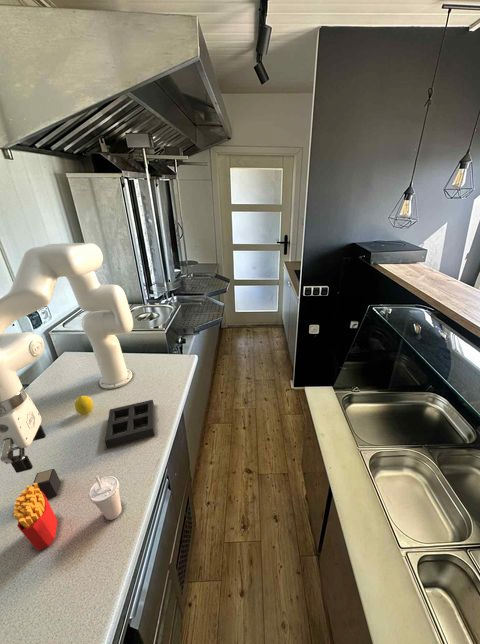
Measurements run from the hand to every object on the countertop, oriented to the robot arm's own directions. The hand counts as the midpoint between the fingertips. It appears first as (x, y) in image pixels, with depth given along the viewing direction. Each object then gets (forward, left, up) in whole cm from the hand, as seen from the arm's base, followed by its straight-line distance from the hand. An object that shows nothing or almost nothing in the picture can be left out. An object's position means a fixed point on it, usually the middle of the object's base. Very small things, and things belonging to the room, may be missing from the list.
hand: (32, 453), depth 72 cm
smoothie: (+12, +17, -15) cm, 25 cm away
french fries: (+11, +2, -15) cm, 19 cm away
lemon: (-29, +4, -15) cm, 33 cm away
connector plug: (0, 0, -15) cm, 15 cm away
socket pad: (-17, +20, -15) cm, 30 cm away
